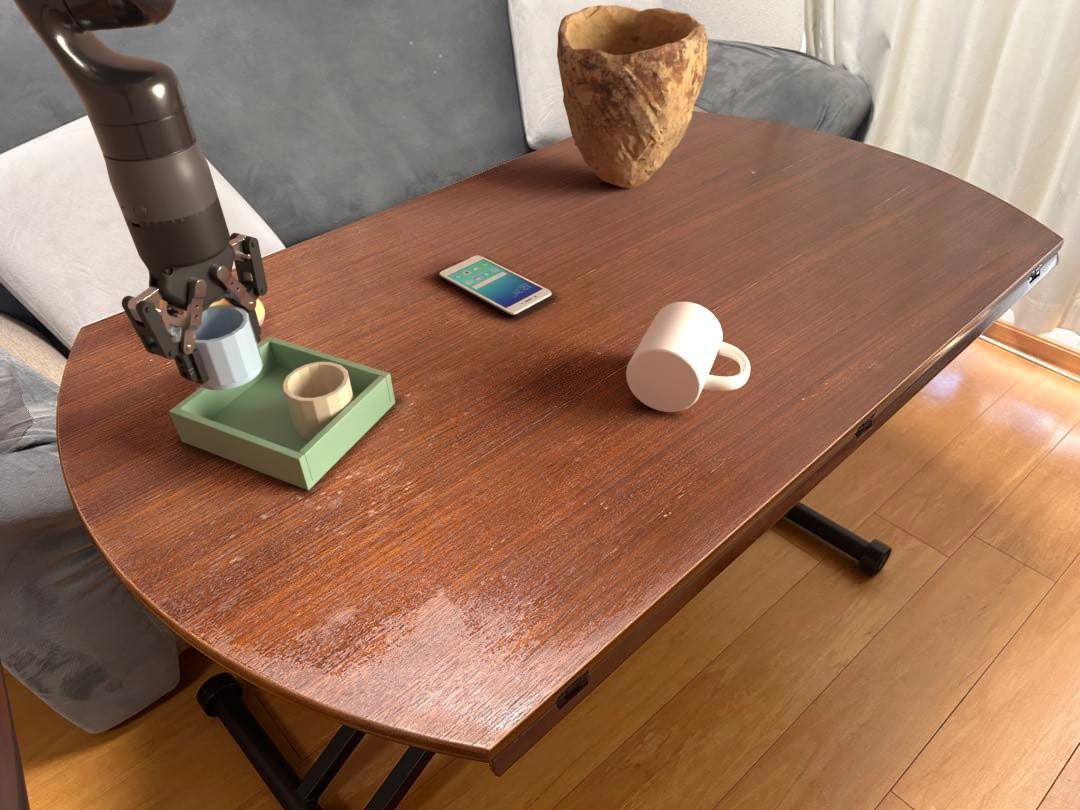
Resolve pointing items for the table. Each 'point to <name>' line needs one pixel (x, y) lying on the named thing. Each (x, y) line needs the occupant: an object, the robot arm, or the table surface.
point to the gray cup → (227, 347)
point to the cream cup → (316, 396)
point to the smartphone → (495, 286)
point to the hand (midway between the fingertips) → (225, 360)
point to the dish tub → (281, 417)
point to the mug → (681, 359)
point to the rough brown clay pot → (629, 86)
